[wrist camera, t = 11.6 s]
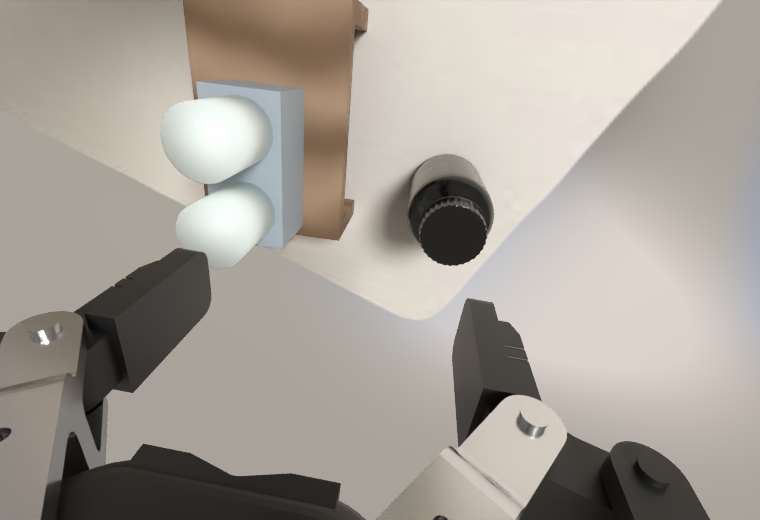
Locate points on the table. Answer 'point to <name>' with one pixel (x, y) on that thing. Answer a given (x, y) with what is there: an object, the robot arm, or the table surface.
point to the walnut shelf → (290, 80)
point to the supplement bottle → (449, 210)
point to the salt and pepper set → (239, 166)
